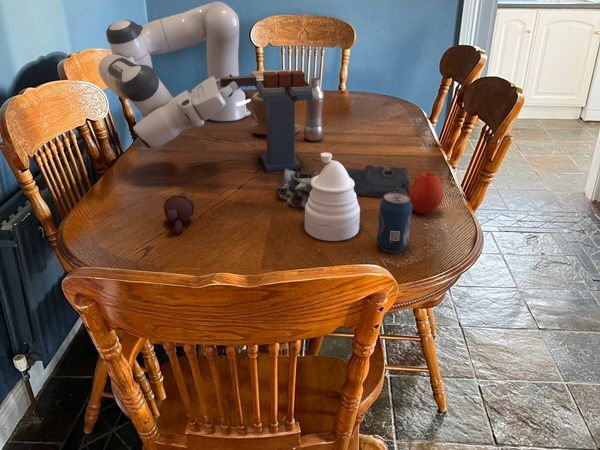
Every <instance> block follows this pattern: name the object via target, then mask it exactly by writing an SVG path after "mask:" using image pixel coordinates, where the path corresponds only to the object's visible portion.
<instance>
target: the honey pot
mask: <svg viewBox="0 0 600 450" xmlns="http://www.w3.org/2000/svg"><path fill="white" fill-rule="evenodd" d="M332 158H333V154H332V153H331V152H321V153H320V159H321V162H323V163H325V165H324V167H323V168H322V169H321V170H320V173H319V174H318V175H317V174H316V175H314V176H313V177H314V178H313V177H312V180H311V186H312V187H313V189H312V191H311V192H310V196H309V198H308V202H307V203H306V205H305V207H304V231H305V232H306V233H307V234H308V235H309V236H311V237H312V238H315V239H317V240H321V241H328V242H339V241H346V240H349V239H352V238H353V237H355V236H356V235H357V234H358V233H359V231H360V221H361V220H360V219H361V216H360V215H361V213H360V212H361V207H360V204H359V201H358V198H357V197H358V196H356V193H355V192H354V189H353V188H354V185H355V183H354V181H353V180H352V178H350V177H349V175H348V173H347V171H346V170H345V169H346V168H345V167H344V165H343V164H342V163H341V162H339V161H337V160H333V159H332Z"/></svg>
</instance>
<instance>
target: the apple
mask: <svg viewBox="0 0 600 450" xmlns="http://www.w3.org/2000/svg"><path fill="white" fill-rule="evenodd" d="M408 195H409V196H410V198H411V200H410V201H411V203H412V206H413V207H412V211H413V212H415V213H417V214H419V215H424V216H425V215H430V214H432V213H434V212H435V211H436V210H437V208H438V207H439V206H440V205H441V204H442V202H443V199H444V190H443V185H442V182H441V179H440V178H439V177H438V176H437V174H435V173H433V172H431V171H423V172H421V173H420V174H418V175H417V176H416V178H415V179H414V181H413V182H412V184H411V187H410V189H409V193H408Z"/></svg>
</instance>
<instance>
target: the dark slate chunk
mask: <svg viewBox="0 0 600 450" xmlns="http://www.w3.org/2000/svg"><path fill="white" fill-rule="evenodd" d="M345 170H346V171H347V173H348V175H349V177H350V178H352V180H353V181H354V183H355V185H354V188H353V189H354V192H355V193H356V196H357V197H358V196H359V197H371V198H383V196H384V194H386V193H389V192H401V193H405V194H407V195H409V193H408V191H407V189H408V186H409V184H410V180H409V177H408V172H409V171H408V168H406V167H394V166H391V167H390V170H387V169H385V167H384V166H382V165H381V166H374V165H370V164H368V165H366V166H365V167H364V168H345Z"/></svg>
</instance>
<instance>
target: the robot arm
mask: <svg viewBox="0 0 600 450" xmlns="http://www.w3.org/2000/svg"><path fill="white" fill-rule="evenodd" d="M105 32H106V33H105V35H106V40H107V42H108V44H109V47H110V51H111V54H107V55H104V57H102V59H101V60H100V62H99V63H98V72H99V73H98V74H99V76H100V79H101V80H102V82H103V83H104V85H105V86H106V87H107V88H108V89H109V90H110V91H111V92H112V93H114V95H116V96H118V97H119V98H122V99H125V100H129V101H130V102H131V103H132V104H133V106H134V107H135V108H136V109H137V110H138V111H139V112H140V114H141V118H140V120H139V121H138V122H137V123H136V124H135V125H134V126H133V127H132V129H133V133H134V134H135V136H136V137H137V138H138V139H139V141H140V142H141V143H142V144H143V146H144V147H146V148H147V149H150V150H153V149H158V148H159V147H161V146H164V145H165V144H167V143H169V142H171V141H173V140H174V139H176V138H177V137H178V136H180V134H181V133H182V132H184V131H187V130H190V129H192V128H193V127H195V128H200V127H201V126H203V125H204V124H205V121H207V120H210V121H214V122H215V121H217V122H232V121H238V120H242V119H243V118H245V117H248V116H251V115H252V112H251V111H250V110H249V109H248V108H247V103H249V102H251V99H250V98H249V99H247V100H246V98H247V97H249V93H248V92H247V91H245V90H242V89H241V87H242V86H239V87H238V86H237V84H236V82H235V81H232V82H231V83H229V85H228V86H226V87H221V86H220V77H233V76H240V70H239V47H240V18H239V16H238V14H237V13H236V11H234V9H232V7H230V6H229V5H228V4H226V3H225V2H223V1H213V2H209V3H207V4H203V5H201V6H200V5H199V6H198V7H195V8H192V9H189V10H187V11H183V12H180V13H177V14H173V15H170V16H166V17H162V18H159V19H158V18H157V19H155V20H152V21H149V22H146V23H144V24H142V25H140V24H138V23H136V22H135V21H134V20H133V21H132V20H130V19H122V20H118V21H115V22H113V23H111V24H110V25H108V27H107V29H106V31H105ZM204 41H206V68H207V69H206V70H207V77H206V79H205V80H203V81H202V82H201V83H199V84H197V85H196V86H195V87H194V88H192V90H191V92H190V91H188V90H187V89H185V90H184V91H183V92H181V93H179V94H178V95H176V96H175V97H174V96H173V95H172V94H171V92H170V91H169V90H168V89H167V87H166V86H165V85H164V84H163V82H162V81H161V80H160V78H159V77H158V75H157V73H156V72H155V68H154V66H153V62H152V59H151V56H158V55H164V54H169V53H172V52H176V51H180V50H184V49H188V48H191V47H194V46H196V45H197V44H199V43H200V44H201V43H202V42H204ZM245 87H249V86H245Z"/></svg>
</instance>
